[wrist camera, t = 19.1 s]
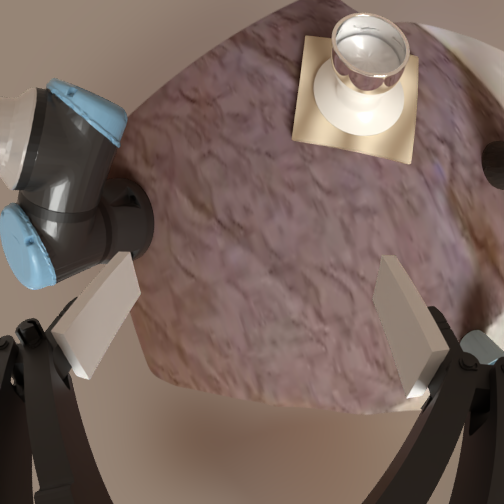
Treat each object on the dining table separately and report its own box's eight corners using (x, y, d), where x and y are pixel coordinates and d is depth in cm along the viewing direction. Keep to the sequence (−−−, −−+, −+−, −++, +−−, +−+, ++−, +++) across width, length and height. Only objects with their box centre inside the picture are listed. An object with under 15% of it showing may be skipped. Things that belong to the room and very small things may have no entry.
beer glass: (325, 74, 31) (316, 18, 18) (374, 64, 29) (391, 6, 15) (342, 121, 33) (346, 86, 19) (393, 111, 30) (425, 73, 16)
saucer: (308, 127, 35) (308, 126, 34) (318, 48, 31) (318, 46, 31) (398, 145, 32) (399, 144, 31) (404, 64, 29) (405, 62, 28)
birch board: (293, 140, 37) (291, 139, 36) (306, 39, 33) (305, 35, 31) (407, 164, 34) (410, 163, 32) (415, 60, 29) (418, 57, 28)
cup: (444, 350, 38) (462, 389, 28) (474, 315, 35) (501, 348, 25) (467, 368, 37) (485, 406, 27) (495, 336, 34) (520, 369, 25)
